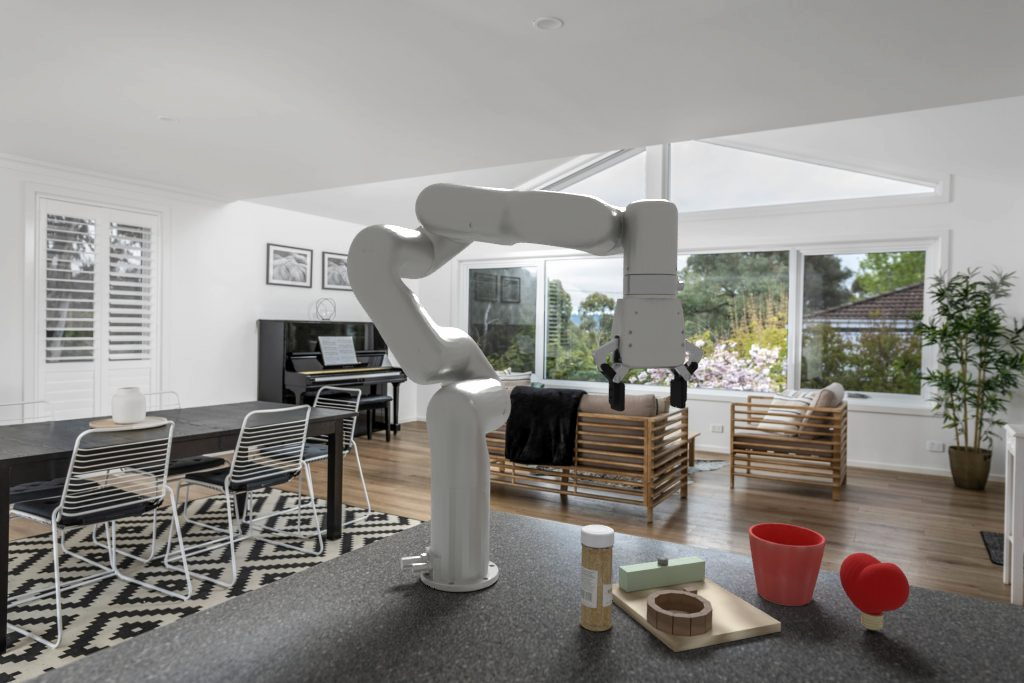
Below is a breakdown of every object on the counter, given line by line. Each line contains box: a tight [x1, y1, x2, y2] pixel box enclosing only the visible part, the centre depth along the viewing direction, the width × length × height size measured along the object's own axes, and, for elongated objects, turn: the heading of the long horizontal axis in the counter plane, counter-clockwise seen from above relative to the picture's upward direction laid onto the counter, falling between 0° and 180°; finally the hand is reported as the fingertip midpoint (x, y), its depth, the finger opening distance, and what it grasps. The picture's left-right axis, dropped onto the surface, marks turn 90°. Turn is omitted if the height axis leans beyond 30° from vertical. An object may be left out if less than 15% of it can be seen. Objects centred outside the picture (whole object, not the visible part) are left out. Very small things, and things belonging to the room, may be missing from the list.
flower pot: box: [748, 522, 826, 607], centre depth 103 cm, size 11×11×10 cm
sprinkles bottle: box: [579, 524, 615, 632], centre depth 92 cm, size 5×5×14 cm
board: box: [612, 576, 782, 653], centre depth 97 cm, size 17×19×4 cm
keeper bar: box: [618, 555, 706, 592], centre depth 104 cm, size 14×2×4 cm, turn 111°
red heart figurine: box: [839, 552, 910, 633], centre depth 91 cm, size 9×7×10 cm
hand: (648, 408), depth 96 cm, fingers open, 9 cm apart
